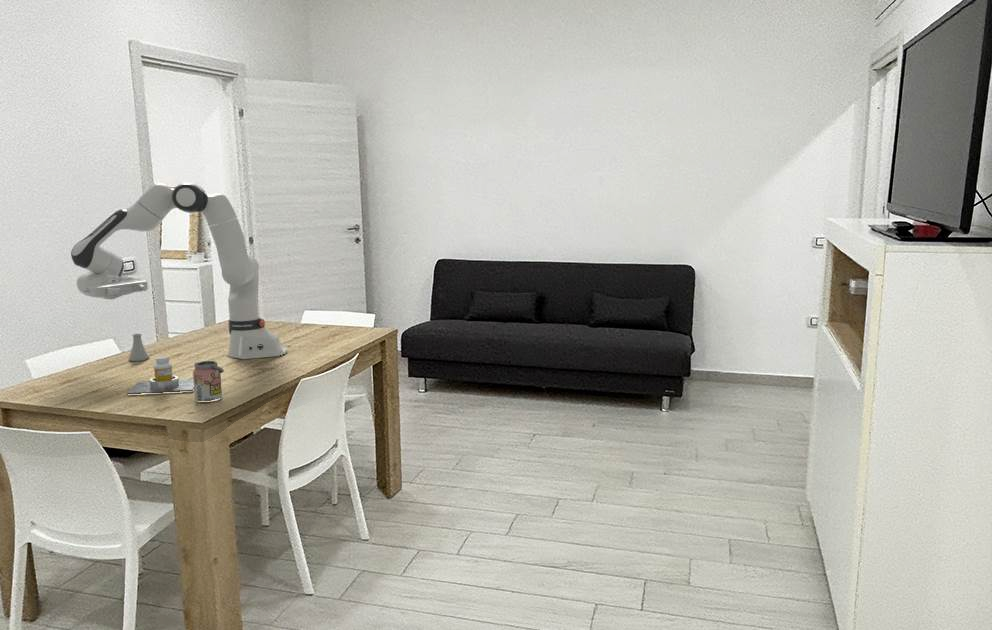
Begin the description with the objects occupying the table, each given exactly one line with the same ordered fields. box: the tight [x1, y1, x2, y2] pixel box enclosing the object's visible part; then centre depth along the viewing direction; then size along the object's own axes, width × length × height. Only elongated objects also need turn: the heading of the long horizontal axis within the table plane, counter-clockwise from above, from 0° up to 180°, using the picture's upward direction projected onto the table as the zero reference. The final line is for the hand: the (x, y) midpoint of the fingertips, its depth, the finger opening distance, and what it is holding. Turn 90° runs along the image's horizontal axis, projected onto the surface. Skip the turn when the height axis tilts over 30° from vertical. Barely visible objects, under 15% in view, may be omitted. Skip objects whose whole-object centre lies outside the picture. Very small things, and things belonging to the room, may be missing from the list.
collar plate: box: [126, 374, 194, 395], centre depth 264 cm, size 20×14×4 cm
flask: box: [128, 333, 151, 362], centre depth 305 cm, size 7×7×10 cm
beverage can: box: [192, 360, 224, 402], centre depth 250 cm, size 9×8×12 cm
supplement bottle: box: [153, 355, 173, 381], centre depth 263 cm, size 5×5×10 cm
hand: (131, 290), depth 282 cm, fingers open, 8 cm apart
